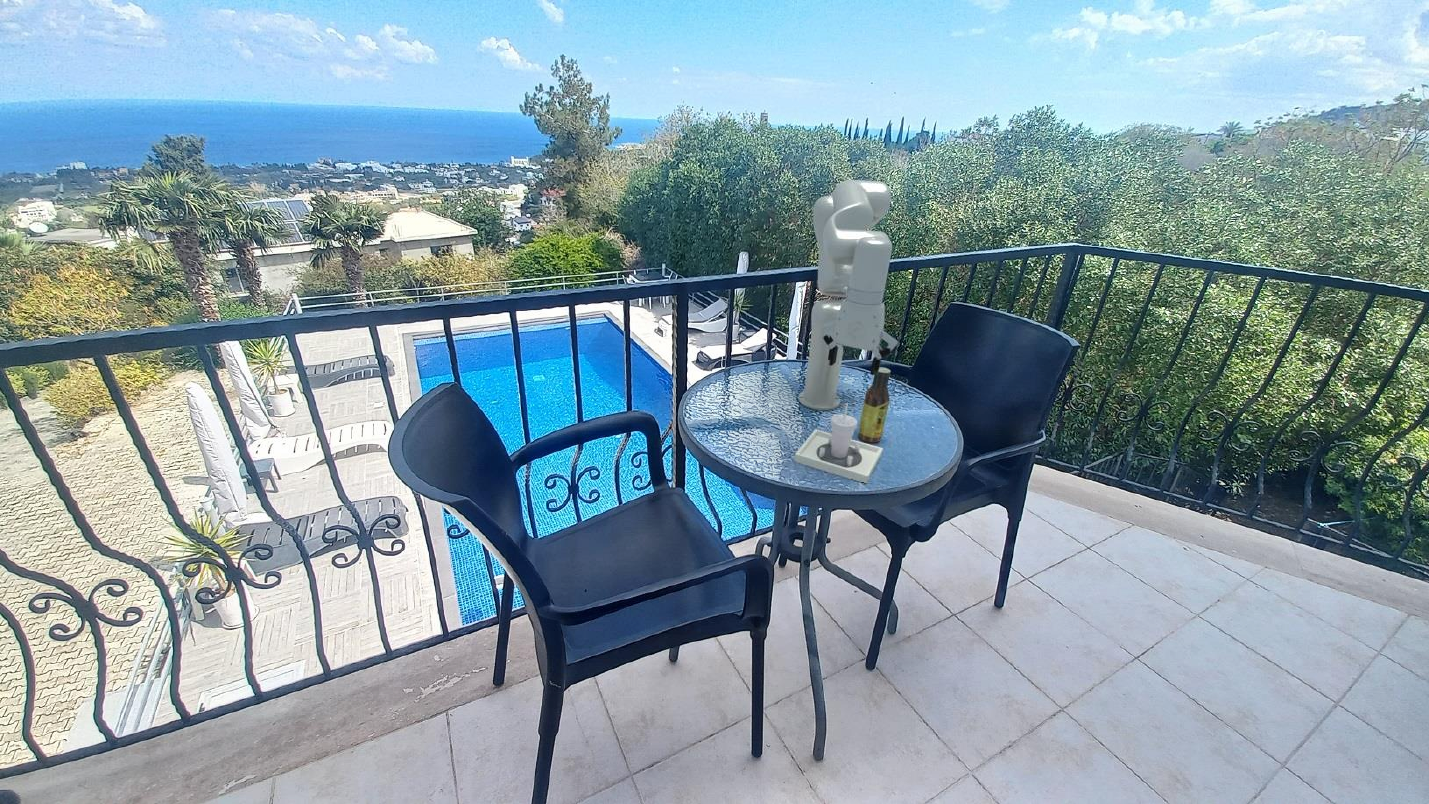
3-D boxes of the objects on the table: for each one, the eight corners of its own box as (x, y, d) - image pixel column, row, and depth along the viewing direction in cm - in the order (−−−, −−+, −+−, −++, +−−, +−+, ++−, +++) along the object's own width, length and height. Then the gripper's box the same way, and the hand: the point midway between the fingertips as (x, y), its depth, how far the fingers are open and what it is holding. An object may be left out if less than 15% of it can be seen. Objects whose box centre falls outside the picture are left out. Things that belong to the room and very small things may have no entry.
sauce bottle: (876, 446, 142) (891, 377, 133) (854, 439, 144) (866, 371, 136) (884, 436, 147) (898, 369, 138) (861, 429, 150) (874, 363, 141)
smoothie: (853, 450, 137) (861, 401, 130) (850, 463, 131) (858, 412, 125) (828, 445, 138) (835, 396, 132) (823, 457, 133) (831, 407, 127)
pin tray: (814, 436, 145) (815, 424, 143) (881, 455, 138) (883, 443, 136) (794, 461, 133) (795, 449, 131) (866, 484, 126) (868, 471, 124)
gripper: (821, 293, 118) (811, 365, 125) (902, 307, 111) (886, 382, 118) (831, 286, 124) (821, 355, 131) (908, 299, 117) (893, 371, 124)
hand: (852, 368), depth 125 cm, fingers open, 9 cm apart
